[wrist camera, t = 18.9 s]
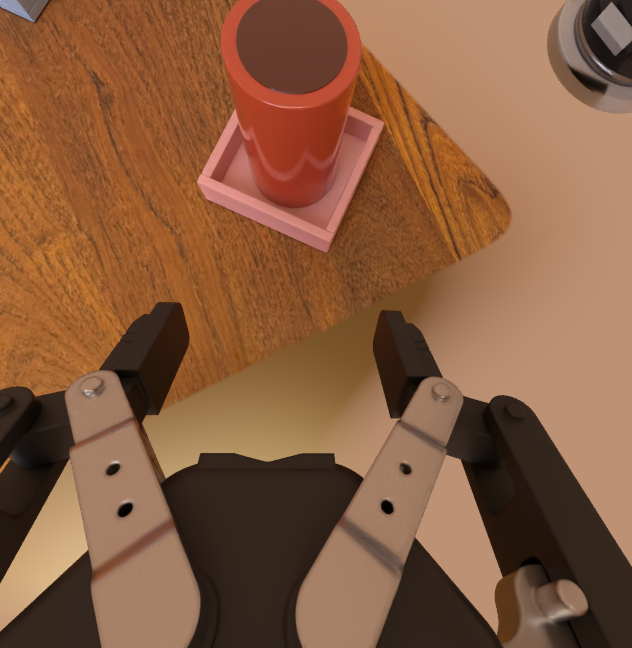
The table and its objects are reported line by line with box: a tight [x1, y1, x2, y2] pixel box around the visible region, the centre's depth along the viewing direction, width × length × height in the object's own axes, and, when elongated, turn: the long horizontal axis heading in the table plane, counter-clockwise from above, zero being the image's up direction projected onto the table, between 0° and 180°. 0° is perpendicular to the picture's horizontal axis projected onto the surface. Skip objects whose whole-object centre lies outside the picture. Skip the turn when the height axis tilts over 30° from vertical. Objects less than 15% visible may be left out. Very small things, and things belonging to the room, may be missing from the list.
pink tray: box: [197, 107, 384, 253], centre depth 19 cm, size 9×9×2 cm
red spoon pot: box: [221, 0, 362, 208], centre depth 16 cm, size 6×6×8 cm
